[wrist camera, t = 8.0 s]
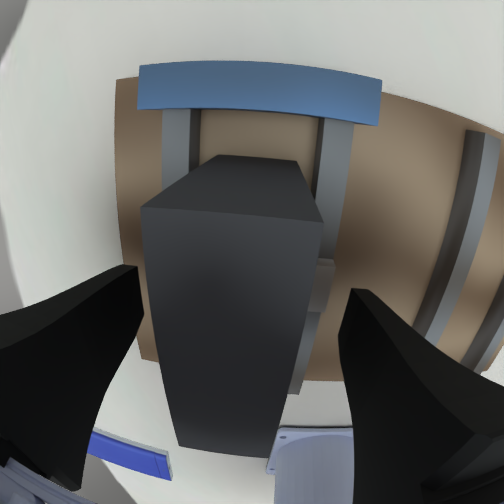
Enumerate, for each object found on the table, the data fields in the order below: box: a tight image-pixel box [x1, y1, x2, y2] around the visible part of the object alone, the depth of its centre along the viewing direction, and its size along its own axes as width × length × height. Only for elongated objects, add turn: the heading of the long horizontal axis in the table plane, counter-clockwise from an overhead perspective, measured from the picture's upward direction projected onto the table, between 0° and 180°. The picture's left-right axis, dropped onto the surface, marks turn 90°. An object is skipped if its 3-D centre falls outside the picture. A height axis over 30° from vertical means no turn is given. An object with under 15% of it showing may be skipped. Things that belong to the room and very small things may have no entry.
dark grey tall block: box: [140, 154, 324, 458], centre depth 10 cm, size 8×3×7 cm, turn 176°
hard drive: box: [87, 427, 173, 481], centre depth 25 cm, size 2×8×12 cm
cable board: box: [114, 61, 504, 395], centre depth 12 cm, size 15×24×3 cm, turn 86°
